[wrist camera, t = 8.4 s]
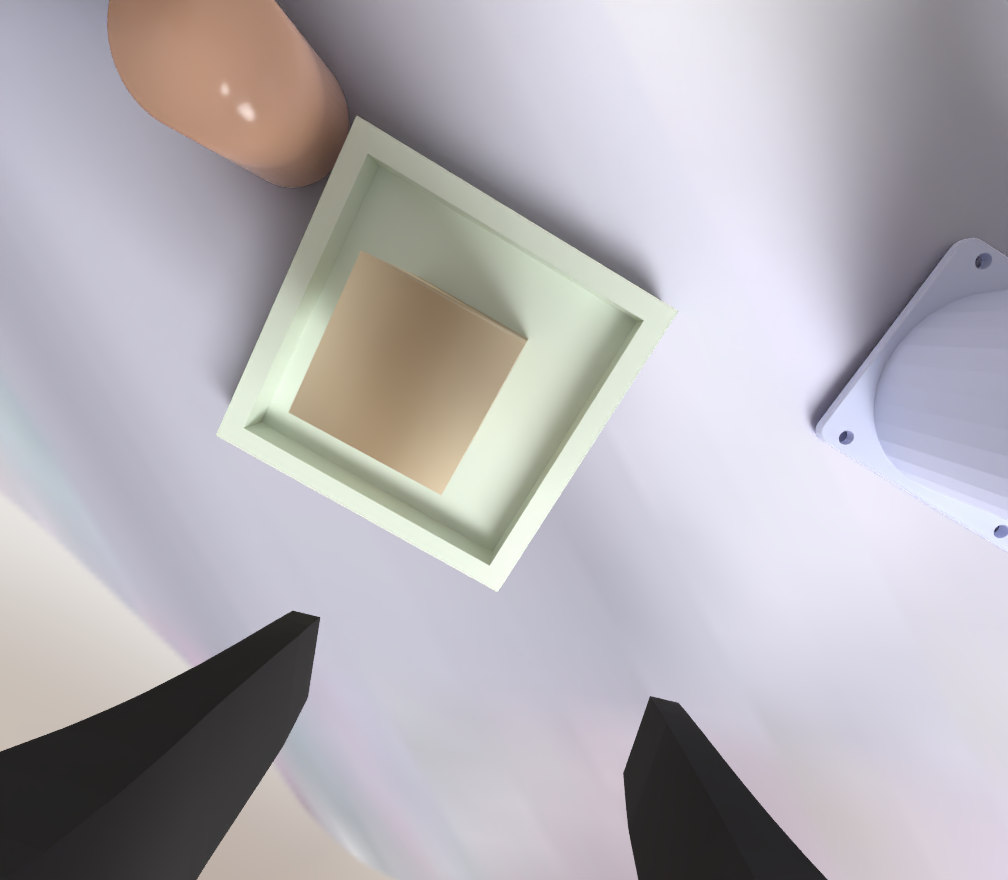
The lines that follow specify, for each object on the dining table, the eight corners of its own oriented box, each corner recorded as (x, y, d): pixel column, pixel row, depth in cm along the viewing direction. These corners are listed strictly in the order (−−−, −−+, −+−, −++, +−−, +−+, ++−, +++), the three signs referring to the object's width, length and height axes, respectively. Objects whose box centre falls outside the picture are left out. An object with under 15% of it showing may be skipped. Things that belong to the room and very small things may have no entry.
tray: (664, 313, 18) (678, 311, 16) (500, 569, 20) (497, 592, 19) (374, 137, 17) (356, 114, 15) (244, 426, 20) (215, 435, 18)
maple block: (528, 339, 18) (525, 343, 12) (470, 443, 19) (441, 495, 13) (419, 276, 18) (361, 250, 12) (366, 386, 19) (288, 412, 13)
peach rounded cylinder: (370, 91, 17) (304, -5, 12) (317, 211, 18) (236, 166, 13) (256, 21, 17) (142, -106, 12) (208, 147, 18) (84, 77, 13)
